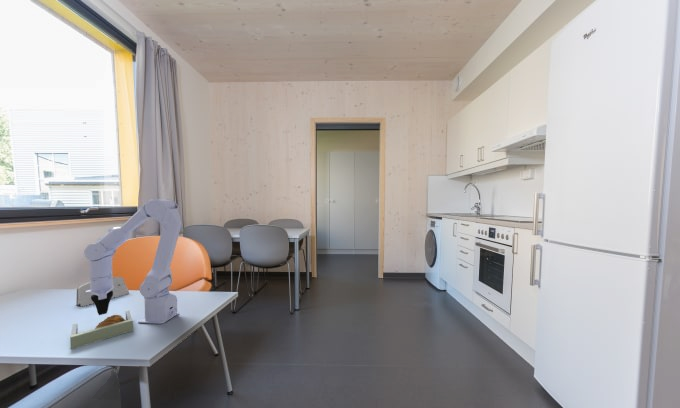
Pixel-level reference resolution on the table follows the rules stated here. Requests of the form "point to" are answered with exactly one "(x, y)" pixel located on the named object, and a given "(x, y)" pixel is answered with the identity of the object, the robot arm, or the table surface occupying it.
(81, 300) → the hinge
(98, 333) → the chute dock
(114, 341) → the table surface
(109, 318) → the pastry
